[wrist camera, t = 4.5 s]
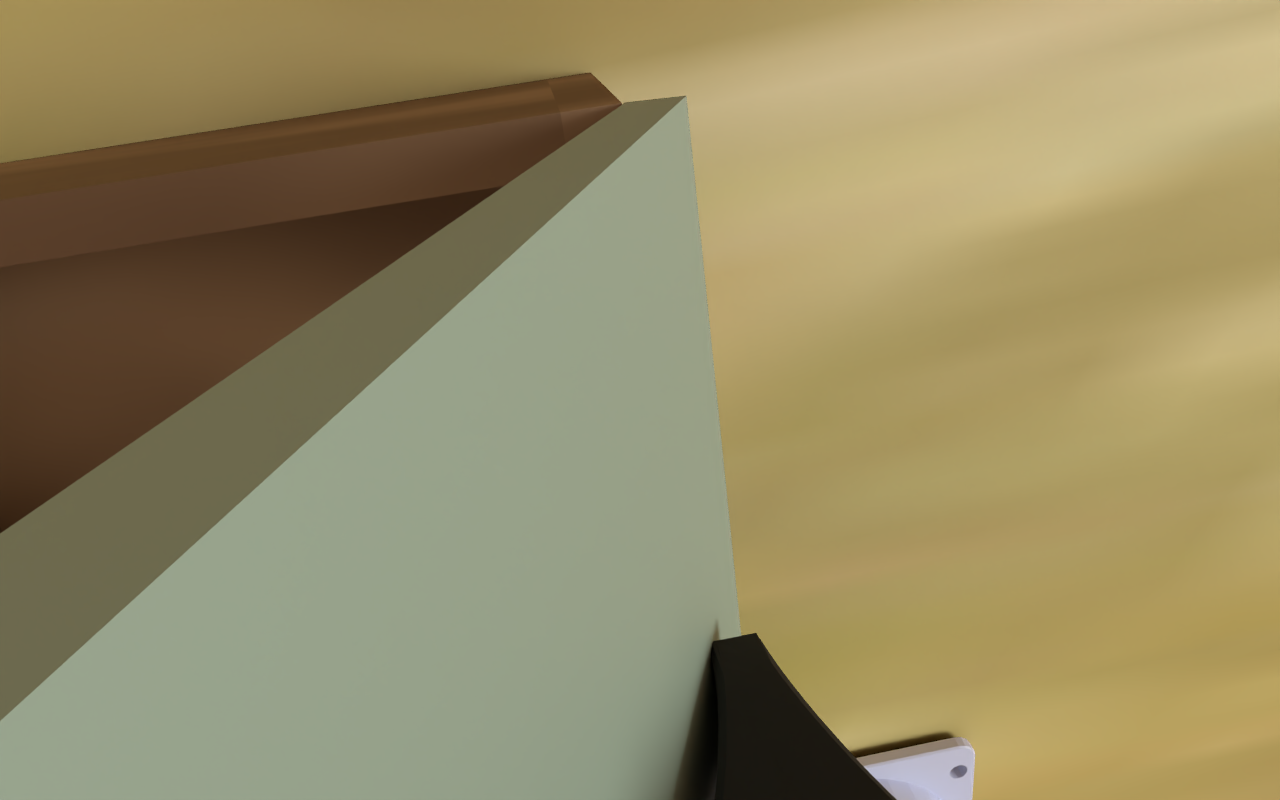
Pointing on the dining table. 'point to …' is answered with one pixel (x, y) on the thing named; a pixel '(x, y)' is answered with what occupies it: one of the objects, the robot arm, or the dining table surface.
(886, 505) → the dining table surface
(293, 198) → the box
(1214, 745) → the dining table surface
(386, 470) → the lid
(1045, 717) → the dining table surface
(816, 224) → the dining table surface
